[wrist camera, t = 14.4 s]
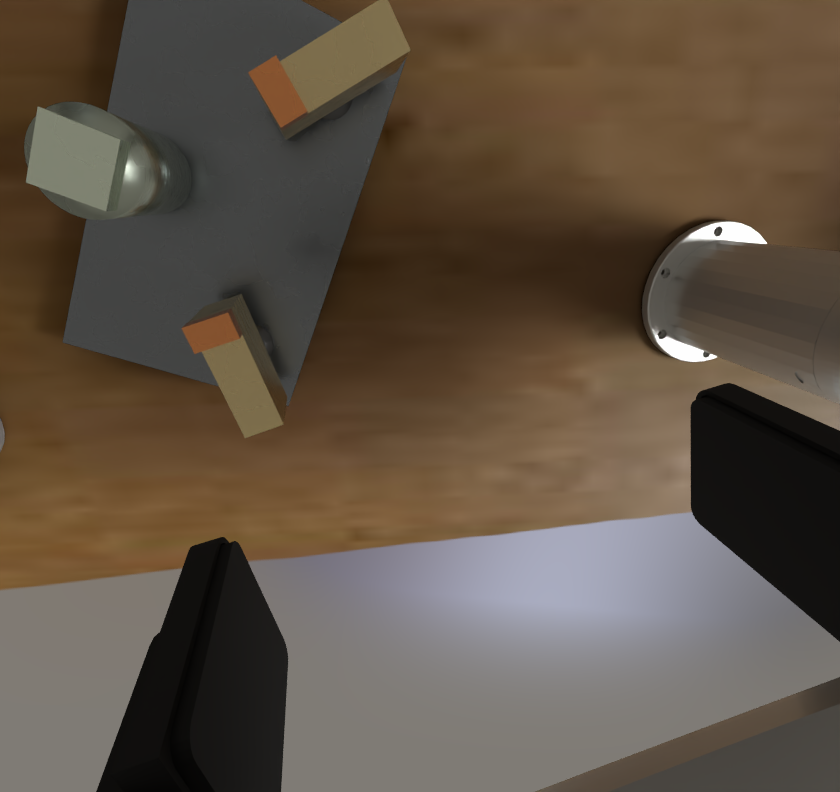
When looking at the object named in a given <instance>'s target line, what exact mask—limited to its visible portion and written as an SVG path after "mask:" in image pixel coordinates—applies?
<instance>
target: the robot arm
mask: <svg viewBox="0 0 840 792" xmlns="http://www.w3.org/2000/svg"><path fill="white" fill-rule="evenodd" d="M642 316H643V322H644V326H645V329H646V332H647V335H648V336H649V338H650V339H651V341H652V343H653V344H654V345H655V346H656V347H657V348H658V349H659V350H660V351H661V352H663V353H665V354H667V355H669V356H670V357H673V358H675V359H678V360H681V361H687V362H703V361H707V360H711V359H714V358H716V357H720V358H722V359H725V360H728V361H730V362H733V363H735V364H738V365H740V366H743V367H746V368H748V369H751V370H753V371H756V372H758V373H761V374H763V375H766V376H769V377H771V378H774V379H776V380H779V381H781V382H784V383H787V384H789V385H792V386H794V387H797V388H799V389H802V390H805V391H807V392H810V393H812V394H815V395H817V396H820V397H823V398H825V399H828V400H830V401H833V402H836V403H838V404H840V251H833V250H823V249H812V248H802V247H792V246H782V245H772V244H767V243H766V241H765V240H764V239H763V237H762V236H761V235H760V234H759V233H758V232H757V231H756V230H754V229H753V228H752V227H750V226H748V225H746V224H743V223H740V222H734V221H711V222H707V223H702V224H700V225H698V226H695V227H693V228H691V229H689V230H687V231H686V232H685V233H683V234H682V235H680V236H679V237H677V238H676V239H675V240H674V241H673V242H672V243H671V244H670V245H669V246H668V247H667V248H666V249H665V250H664V252H663V253H662V254H661V255H660V257H659V258H658V259H657V261H656V263H655V265H654V267H653V268H652V270H651V272H650V275H649V277H648V280H647V282H646V285H645V289H644V294H643V299H642ZM691 509H692V513H693V515H694V516H695V519H696V520H697V521H698V522H699V524H700V525H702V526H703V527H704V528H705V529H706V530H708V531H709V532H710V533H711V534H712V535H713V536H715V537H716V538H717V539H718V540H719V541H721V542H722V543H723V544H724V545H725V546H727V547H728V548H729V549H730V550H731V551H733V552H734V553H735V554H736V555H737V556H738V557H740V558H741V559H742V560H743V561H745V562H746V563H747V564H748V565H749V566H750V567H752V568H753V569H754V570H755V571H756V572H758V573H759V574H760V575H761V576H762V577H763V578H765V579H766V580H767V581H768V582H769V583H771V584H772V585H773V586H774V587H775V588H777V589H778V590H779V591H780V592H782V594H784V595H785V596H786V597H787V598H789V599H790V600H791V601H792V602H793V603H794V604H796V605H797V606H798V607H799V608H800V609H802V610H803V611H804V612H805V613H806V614H807V615H809V616H810V617H811V618H812V619H813V620H815V621H816V622H817V623H818V624H819V625H821V626H822V627H823V628H824V629H826V630H827V631H828V632H829V633H831V635H833V636H834V637H835V638H836V639H837V640H838V641H840V431H839V430H837V429H834V428H832V427H830V426H828V425H825V424H823V423H821V422H819V421H816V420H814V419H812V418H809V417H807V416H805V415H803V414H800V413H798V412H796V411H794V410H791V409H789V408H787V407H784V406H782V405H780V404H778V403H775V402H773V401H771V400H769V399H766V398H764V397H762V396H759V395H757V394H755V393H753V392H750V391H748V390H746V389H744V388H741V387H739V386H737V385H734V384H731V383H727V384H723V385H719V386H716V387H713V388H709V389H706V390H703V391H701V392H699V393H698V395H697V397H696V400H695V401H693V402H692V404H691ZM287 671H288V654H287V648H286V644H285V641H284V639H283V636H282V635H281V632H280V630H279V628H278V626H277V624H276V621H275V619H274V617H273V615H272V613H271V611H270V609H269V607H268V604H267V602H266V600H265V598H264V596H263V594H262V591H261V589H260V587H259V585H258V583H257V581H256V579H255V577H254V575H253V572H252V570H251V568H250V566H249V564H248V561H247V559H246V557H245V555H244V553H243V551H242V549H241V547H240V545H239V543H238V542H236V541H234V542H231V543H229V542H228V541H227V540H226V538H224V537H221V538H217V539H214V540H211V541H207V542H204V543H201V544H198V545H194V546H192V547H191V548H190V550H189V552H188V555H187V557H186V560H185V563H184V566H183V569H182V572H181V575H180V577H179V580H178V583H177V586H176V589H175V591H174V594H173V597H172V600H171V603H170V606H169V608H168V611H167V614H166V617H165V620H164V623H163V625H162V628H161V631H160V633H158V634H157V635H156V636H155V637H154V638H153V640H152V642H151V644H150V646H149V649H148V652H147V655H146V658H145V660H144V663H143V666H142V668H141V671H140V674H139V676H138V679H137V682H136V685H135V687H134V690H133V693H132V696H131V698H130V701H129V704H128V707H127V709H126V712H125V715H124V717H123V720H122V723H121V726H120V729H119V731H118V734H117V737H116V740H115V742H114V745H113V748H112V750H111V753H110V756H109V758H108V762H107V764H106V767H105V770H104V772H103V775H102V778H101V780H100V783H99V786H98V789H97V791H96V792H281V781H282V762H283V744H284V725H285V707H286V689H287ZM536 792H840V677H839V678H836V679H834V680H831V681H828V682H826V683H823V684H820V685H818V686H815V687H812V688H810V689H807V690H804V691H801V692H798V693H796V694H793V695H791V696H788V697H785V698H782V699H780V700H777V701H774V702H772V703H769V704H767V705H764V706H761V707H759V708H756V709H753V710H751V711H748V712H745V713H742V714H740V715H737V716H735V717H732V718H729V719H726V720H724V721H721V722H718V723H716V724H713V725H711V726H708V727H705V728H702V729H700V730H697V731H694V732H692V733H689V734H686V735H684V736H681V737H678V738H676V739H673V740H670V741H668V742H665V743H662V744H660V745H657V746H655V747H652V748H649V749H647V750H644V751H641V752H639V753H636V754H633V755H631V756H628V757H625V758H623V759H620V760H617V761H615V762H612V763H609V764H607V765H604V766H601V767H599V768H596V769H594V770H591V771H588V772H586V773H583V774H580V775H578V776H575V777H572V778H570V779H567V780H565V781H562V782H559V783H557V784H554V785H552V786H549V787H546V788H544V789H541V790H539V791H536Z"/></svg>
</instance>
